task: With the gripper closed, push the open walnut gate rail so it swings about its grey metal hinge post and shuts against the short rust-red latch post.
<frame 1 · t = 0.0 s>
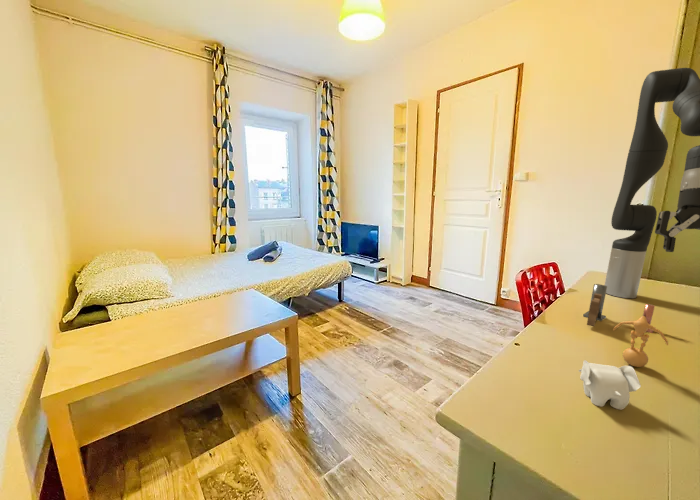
hand: (692, 253, 73), 22 cm above the table, tool pointing down, fingers open, 8 cm apart
figurine: (632, 367, 63), on the table
elephant figurine: (599, 398, 54), on the table
gate posts: (594, 317, 89), on the table
gate: (594, 309, 83), point 4 cm above the table, hinge at -80.0°
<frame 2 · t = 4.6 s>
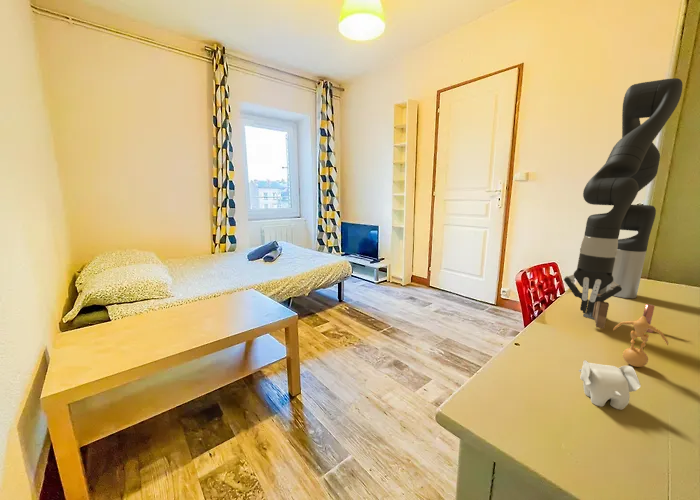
hand: (585, 312, 83), 4 cm above the table, tool pointing down, fingers closed
gate: (600, 310, 82), point 4 cm above the table, hinge at -69.7°, touching gripper
everything else where it was.
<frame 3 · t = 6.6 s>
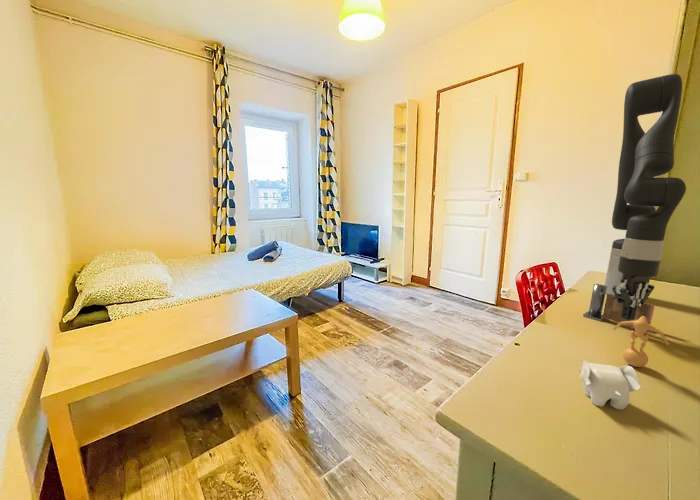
hand: (627, 318, 79), 4 cm above the table, tool pointing down, fingers closed
gate: (625, 311, 82), point 5 cm above the table, hinge at -11.0°, touching gripper
everything else where it was.
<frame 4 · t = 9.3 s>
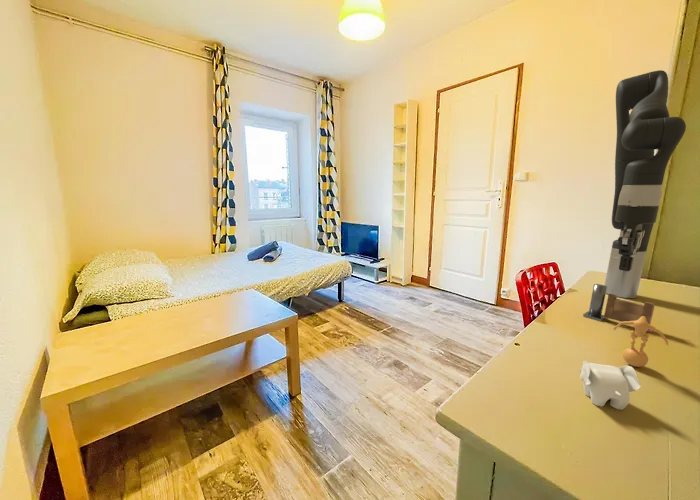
hand: (624, 270, 77), 17 cm above the table, tool pointing down, fingers closed
gate: (627, 310, 82), point 4 cm above the table, hinge at 1.6°, touching gate posts
everything else where it was.
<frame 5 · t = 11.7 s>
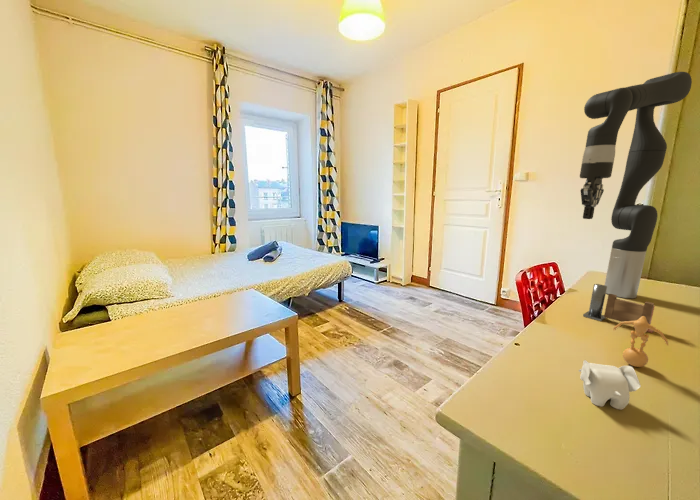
hand: (587, 218, 92), 29 cm above the table, tool pointing down, fingers closed
nothing on the table moved.
at the end: gate at +2° (first picture: -80°); figurine on the table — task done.
